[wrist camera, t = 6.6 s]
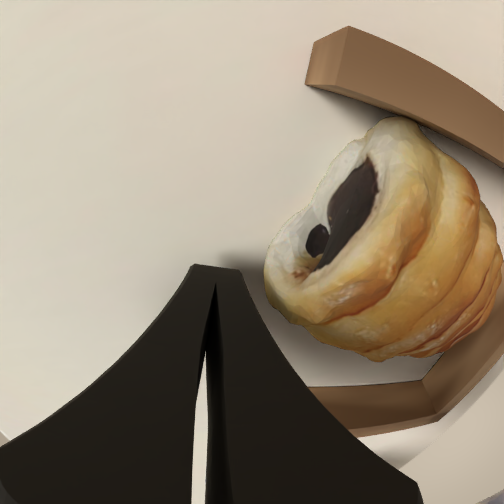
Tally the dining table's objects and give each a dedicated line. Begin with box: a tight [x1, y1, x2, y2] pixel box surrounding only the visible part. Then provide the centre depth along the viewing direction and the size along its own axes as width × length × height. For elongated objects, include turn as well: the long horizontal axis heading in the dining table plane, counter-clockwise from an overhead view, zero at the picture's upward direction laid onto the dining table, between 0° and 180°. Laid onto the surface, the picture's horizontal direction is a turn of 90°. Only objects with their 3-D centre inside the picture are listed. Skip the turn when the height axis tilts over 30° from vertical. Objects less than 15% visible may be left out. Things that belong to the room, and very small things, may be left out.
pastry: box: [264, 116, 503, 362], centre depth 8 cm, size 9×7×4 cm
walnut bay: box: [305, 26, 504, 438], centre depth 9 cm, size 14×12×2 cm
